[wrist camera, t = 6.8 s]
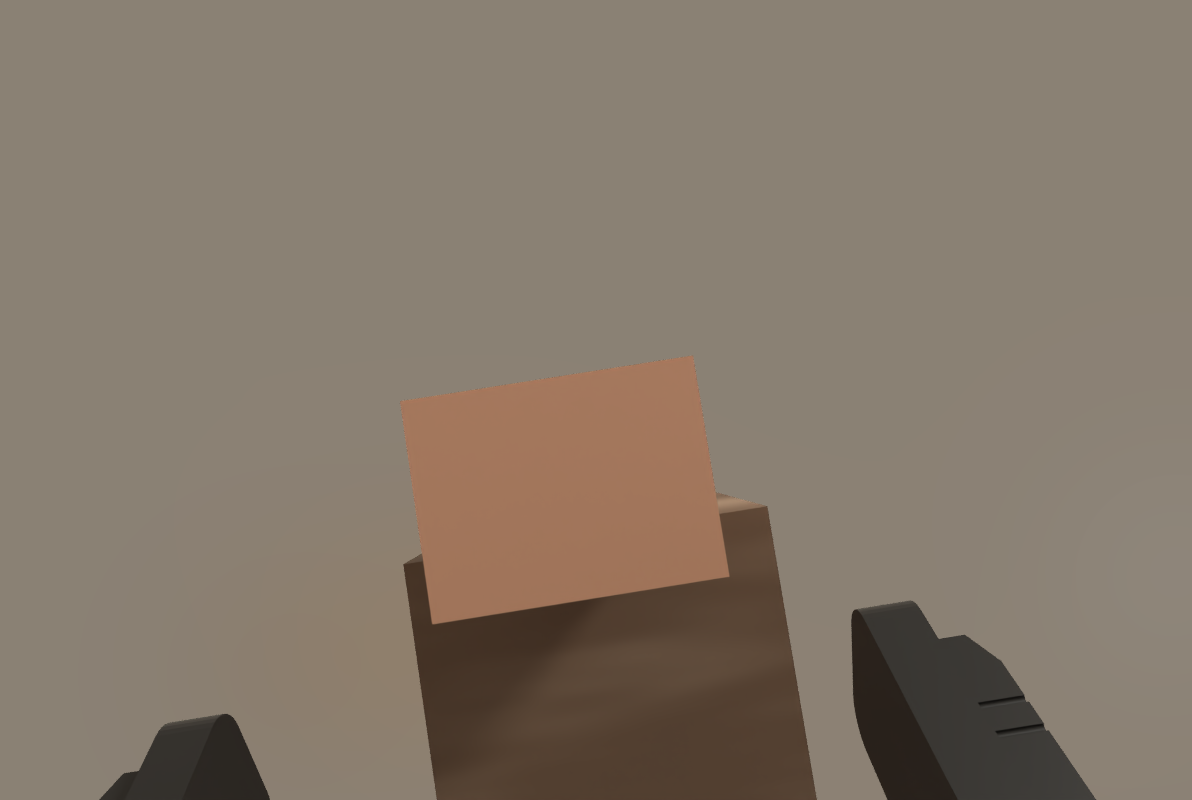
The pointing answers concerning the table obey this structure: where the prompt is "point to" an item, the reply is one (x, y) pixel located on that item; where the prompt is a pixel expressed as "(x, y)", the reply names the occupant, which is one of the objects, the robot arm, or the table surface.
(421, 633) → the pedestal
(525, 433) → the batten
